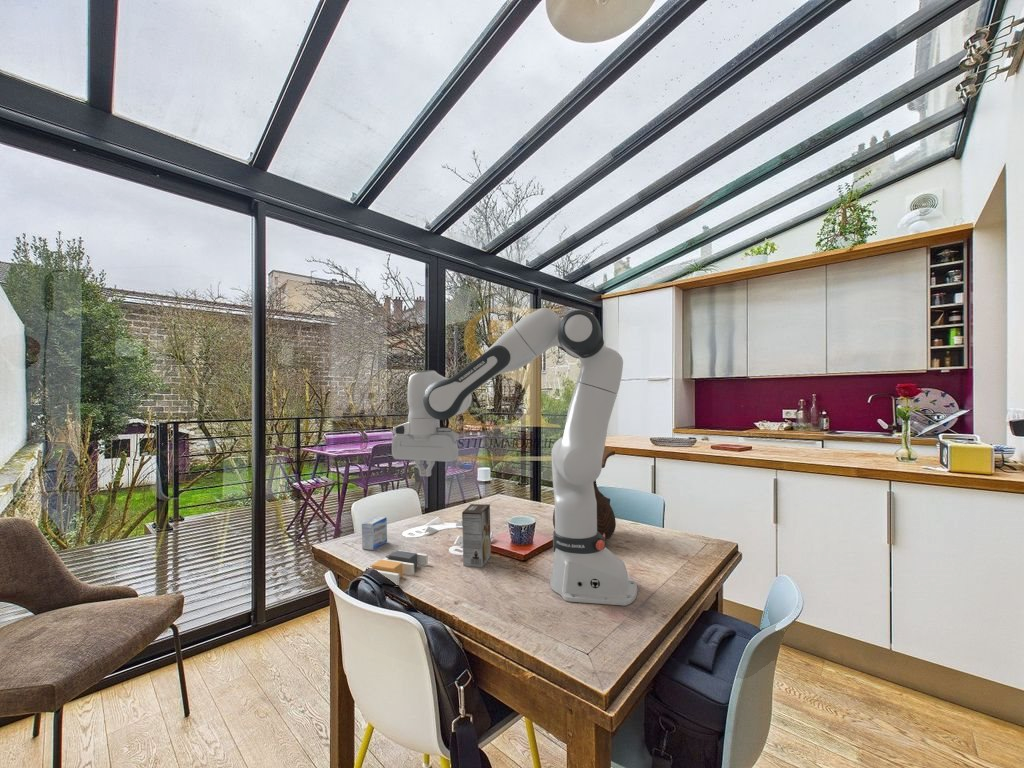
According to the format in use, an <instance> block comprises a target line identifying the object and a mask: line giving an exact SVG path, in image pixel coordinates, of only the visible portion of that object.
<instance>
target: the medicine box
mask: <svg viewBox="0 0 1024 768" xmlns="http://www.w3.org/2000/svg"><path fill="white" fill-rule="evenodd" d="M387 519H388V518H387V517H386V516H375V517H373V518H371V519H368V520H366V521H365V522H362V523H361V546H362V547H361V548H362V550H367V551H368V550H369V551H374V550H376V549H378V548H380V547H381V546H383V545H385V544H386V543H387V542H388V522H387V521H388V520H387Z"/></svg>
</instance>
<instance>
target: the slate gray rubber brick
mask: <svg viewBox="0 0 1024 768" xmlns="http://www.w3.org/2000/svg"><path fill="white" fill-rule="evenodd" d="M398 550H399V549H398ZM398 550H395V551H393V552H394V553H392V552H391V553H392V554H391V553H390V555H389V554H388V555H389V560H394V561H401V562H407V563H413V564H414V569H416V568H417V567H418V565H417V553H418V552H414V553H411V552H412V551H407V552H405V551H406V550H400V551H398Z"/></svg>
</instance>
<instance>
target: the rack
mask: <svg viewBox="0 0 1024 768" xmlns="http://www.w3.org/2000/svg"><path fill="white" fill-rule="evenodd" d="M398 551H401V550H399V549H398ZM404 551H405V552H408V551H406V550H404ZM394 552H395V551H393V552H391V553H390V554H392V553H394ZM410 552H411V553H415V552H413V551H410ZM416 553H417V566H424V567H427V566H428V565H429V563H428V562H429V560H428V556H429V555H428V554H426V553H419V552H416ZM390 554H388V555H386V556H385V557H384V558H383V559H380V560H387V561H394V560H389V555H390ZM380 560H378V561H380ZM378 561H376V562H374V563H373V564H375V563H377V562H378ZM394 562H400V563H402V575H407V576H411V577H412V576H414V575H415V568H414V564H413V563H407V562H401V561H394ZM373 564H370V565H369V567H367V568H366V569H368V568H372V565H373ZM366 569H364V572H365V571H366ZM377 571H378V572H380V573H381V574H383V575H384V576H385V577H387V578H388V579H390V580H391V581H393V582H394V583H395V584H396V585H399V586H400V578H399V574H398V573H392V572H386V571H380V570H377Z"/></svg>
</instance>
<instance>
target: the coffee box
mask: <svg viewBox="0 0 1024 768" xmlns="http://www.w3.org/2000/svg"><path fill="white" fill-rule="evenodd" d="M490 507H491V505H490V504H487V503H486V504H483V503H481V504H480V503H470V504H469V505H468V506H467V508H465V509H464V510H463V511H462V513H461V519H462V527H463V528H462V537H463V547H462V548H463V551H462V552H463V555H462V563H463V565H462V566H463V567H476V568H477V567H478V568H483V567H484V566H485V565H486V564H487V561H488V560H489V558H490V557H491V555H492V549H491V547H492V546H491V544H492V542H491V540H490V532H491V508H490Z"/></svg>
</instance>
